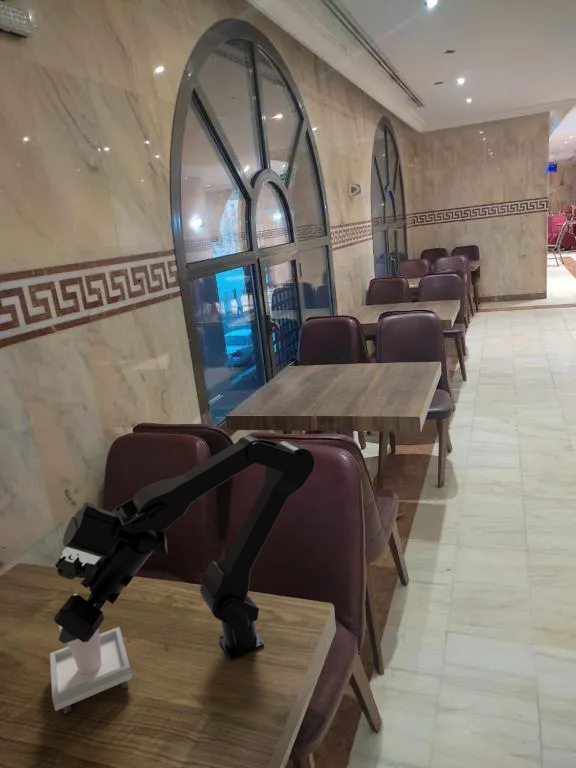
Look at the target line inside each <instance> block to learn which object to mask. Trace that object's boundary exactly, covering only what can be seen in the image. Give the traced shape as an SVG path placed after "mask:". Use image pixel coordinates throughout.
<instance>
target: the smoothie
mask: <svg viewBox="0 0 576 768" xmlns="http://www.w3.org/2000/svg"><path fill="white" fill-rule="evenodd" d="M73 595H78V593H77V592H76V593H74V594H73ZM57 626H58V631H59V633H60V634H61V631H62V627H61V626H59V625H58V624H57ZM99 628H100V626H99V627H98V629H97V630H96V632H95V633H94V635H93V636H92V637H91V639H90V640H89V641H88V642H82V641H80V640H79V639H77V640H73V641H70V642H67V643H66V644H67V647H68V646H69V649H70V651H71V653H72V656H73V658H74V660H75V662H76V665H77V667H78V669H79V672H80V673H81V674H83V675H87V674H91V673H93V672H95V671H97V670H98V669H99V668H100V667H101V665H102V658H101V648H100V637H99V634H100V629H99Z"/></svg>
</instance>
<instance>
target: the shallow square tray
mask: <svg viewBox="0 0 576 768" xmlns="http://www.w3.org/2000/svg"><path fill="white" fill-rule="evenodd" d="M99 637H100V648H101V658H102V665H101V667H100V668H99V669H98V670H97V671H95V672H93V673H91V674H87V675H83V674H81V673H80V672H79V669H78V667H77V665H76V662H75V660H74V658H73V656H72V653H71V651H70V649H69V646H68V645H67V646H66V647H63V648H61V649H57V650H55V651H52V652H50V653H49V659H50V661H49V662H50V679H51V680H50V681H51V683H50V684H51V699H52V703H53V708H54V710H55V712H56V711H59V710H61V709H62V710H63V714H68V713H70V712H72V704H76V703H78V702H80V701H82V700H85V699H87V698H89V697H91V696H94V695H96V694H99V693H100V692H101V693H102V692H104V691H106V690H108V689H111V688H112V687H115V686H118V685H120V687H121V690H124V689H127V688H128V687H129V685H128V681H129V680H131V679H133V673H132V669H131V665H130V662H129V661H130V660H129V658H128V655H127V651H126V645H125V643H124V639H123V635H122V631H121V627H120V626H118V627H117V626H116V627H114V628H112V629H110V630H106V631H104V632H102V633H99Z"/></svg>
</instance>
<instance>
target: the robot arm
mask: <svg viewBox="0 0 576 768" xmlns="http://www.w3.org/2000/svg"><path fill="white" fill-rule="evenodd" d="M254 464H258V465H261V466H265V470H264V471H265V472H264V483H263V486H262V488H261V489H260V492H259V493H258V496H257V498H256V499H255V501H254V504H253V506H252V507H251V509H250V510H249V513H248V515H247V517H246V519H245V520H244V523H243V524H242V527H241V528H240V530H239V532H238V533H237V536H236V537H235V539H234V541H233V544H232V545H231V547H230V550H229V551H228V553H227V555H226V556H225V557H224V558H223V559H221V560H220V561H219V562H215V561H214V560H210V562H209V563H208V566H207V569H206V571H205V573H204V575H203V576H202V577H201V578H199V581H200V583H201V584H200V588H199V591H200V596H201V598H202V600H203V601H204V603H205V604H206V606H207V607H208V609H209V611H210V612H211V613H212V615H213V616H214V618H215V619H216V620H219V621H220V622H221V623H220V624H221V628H222V629H221V630H222V635H220V636H219V637H218V640H219V643H220V644H221V646H222V647H223V649H224V651H225V653H226V656H227V657H228V659H229V660H235V659H237V658H239V657H242V656H244V655H246V654H248V653H250V652H253V651H255V650H258V649H259V648H261V647H264V645H265V642H264V639H262V637H261V636H260V634H259V633H258V631H257V630H256V626H255V625H256V624H255V621H257V620H258V617H259V614H260V613H259V611H260V609H259V607H258V606H257V604H256V603H255V602H254V601H253V599H252V598H251V597H250V596H249V594H248V593H249V587H250V579H251V578H250V577H251V571H252V568H253V567H254V565H255V563H256V561H257V558H258V556H259V555H260V553H261V551H262V549H263V547H264V545H265V543H266V541H267V539H268V537H269V536H270V534H271V531H272V529H273V528H274V525H275V523H276V522H277V520H278V518H279V516H280V515H281V512H282V510H283V509H284V508H283V507H284V506H285V504H286V502H287V500H288V499H289V497H290V496H292V495H293V494H294V493H296V492H297V491H299V490H300V489H302V488H303V486H304V485H305V483H306V482H307V481H308V479H309V477H310V476H311V475H312V473H313V471H314V469H315V465H316V462H315V459H314V455H313V454H312V453H311V451H309V450H308V449H306V448H305V447H303V446H301V445H299V444H297V443H295V442H292V441H290V440H282V441H280V442H275V441H272V440H267V439H263V438H262V439H261V438H256V437H255V436H253V435H244V436H242V437H240V438H239V439H238V441H237V442H235V443H233V444H231V445H230V446H228V447H225V448H224V449H222V450H220V452H218V453H216V454H214V455H213V456H210V457H209V458H208V459H206V460H204V461H203V462H200V463H199V464H198V465H196V466H194V467H192V468H191V469H189V470H187V471H186V472H183V474H181V475H178V476H175V477H171V478H170V477H169V478H165V479H161V480H158V481H155V482H153V483H150V484H148V485H145V486H143V487H141V488H140V489H139V490H137V492H136V493H135V495H134V497H132V498H130V499H128V500H126V501H124V502H123V503H122V504H119V505H117V506H116V507H114V508H112V511H109V510H106V509H104V508H101V507H98V506H96V505H95V504H94V503H90V502H87V501H86V502H84V504H83V506H82V508H80V509H79V510H78V511H77V512H76V513H75V514H74V516H72V517H71V518H70V520H69V522H68V524H67V527H66V529H65V532H64V533H63V538H62V540H63V541H62V545H63V547H65V548H64V549H63V550H62V551H61V554H60V556H59V558H58V561H56V563H55V564H54V566H55V568H56V569H57V571H56V572H57V575H58V576H59V577H61V578H65V579H68V580H75V578H79V579H82V581H81V582H80V585H81V586H83V587H85V588H86V589H88V588H89V591H90V593H89V596H88V599H87V600H86V599H85V598H84V597H82V596H81V595H80V594H77V595H74V594H73V595H71V596H70V597H69V598H68V599H67V601H65V603H63V605H62V606H61V608H60V609H59V610H58V611H57V613H56V614H55V616H54V617H53V620H54V623H55V624H56V625H57V626H58V625H59V626H61V627H62V631H61V633H60V634H59V637H58V641H59V642H60V643H62V644H67V642H70V641H73V640H77V639H79V640H80V641H82V642H88V641H89V640H90V639H91V637H92V636H93V635H94V633H95V632H96V630H97V629H98V627H99V628H100V626H101V625H102V623H103V622H104V621H105V617H104V613H103V611H102V610H101V609H102V607H103V606H104V605H105V603H106V602H107V601H108V602H109V603H111V604H112V605H113V604H114V603H116V601H117V599H118V597H119V596H120V595H121V593H122V592H123V590H124V589H125V588H126V587H128V585H129V584H130V583H131V581H132V580H133V578H134V577H135V576H136V574H137V573H138V571H139V570H140V569H141V568H142V566H143V565H144V564H145V562H147V560H148V559H149V557H150V556H151V554H153V553H155V554H159V555H160V556H163V557H164V556H167V555H168V540H167V537H166V531H165V530H167V529H169V528H170V527H171V526H172V525H173V524H175V523H176V521H178V520H179V519H181V517H183V516H184V515H185V514H186V512H187V510H188V509H189V507H191V505H192V504H193V503H194V502H195V501H197V500H198V499H199V498H201V497H203V496H204V495H205V494H208V493H209V492H210V491H213V490H214V489H215V488H217V487H219V486H220V485H222V484H224V483H225V482H226V481H229V480H230V479H231V478H233V477H234V476H236V475H238V474H240V473H241V472H243V471H245V470H246V469H247V468H249V467H250V466H252V465H254ZM133 516H135V517H133ZM59 626H58V627H59Z"/></svg>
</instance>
